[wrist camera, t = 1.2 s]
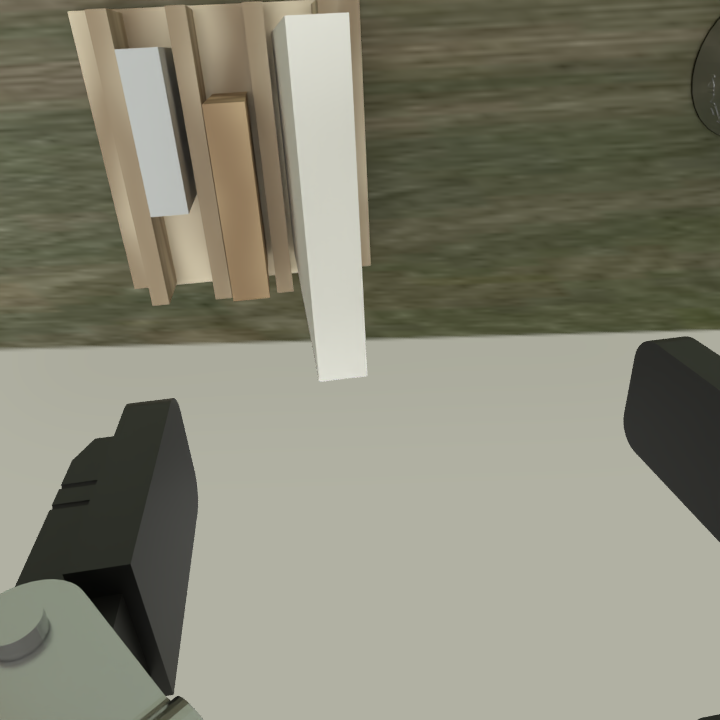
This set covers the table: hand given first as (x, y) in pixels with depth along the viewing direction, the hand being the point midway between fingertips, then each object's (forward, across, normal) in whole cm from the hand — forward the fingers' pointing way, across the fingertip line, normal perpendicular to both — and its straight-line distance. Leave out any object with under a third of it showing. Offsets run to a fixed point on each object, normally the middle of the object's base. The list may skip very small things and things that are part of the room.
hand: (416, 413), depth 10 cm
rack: (+32, +4, 0) cm, 32 cm away
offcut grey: (+31, +8, -2) cm, 32 cm away
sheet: (+31, 0, 0) cm, 31 cm away
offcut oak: (+31, +4, +1) cm, 31 cm away
